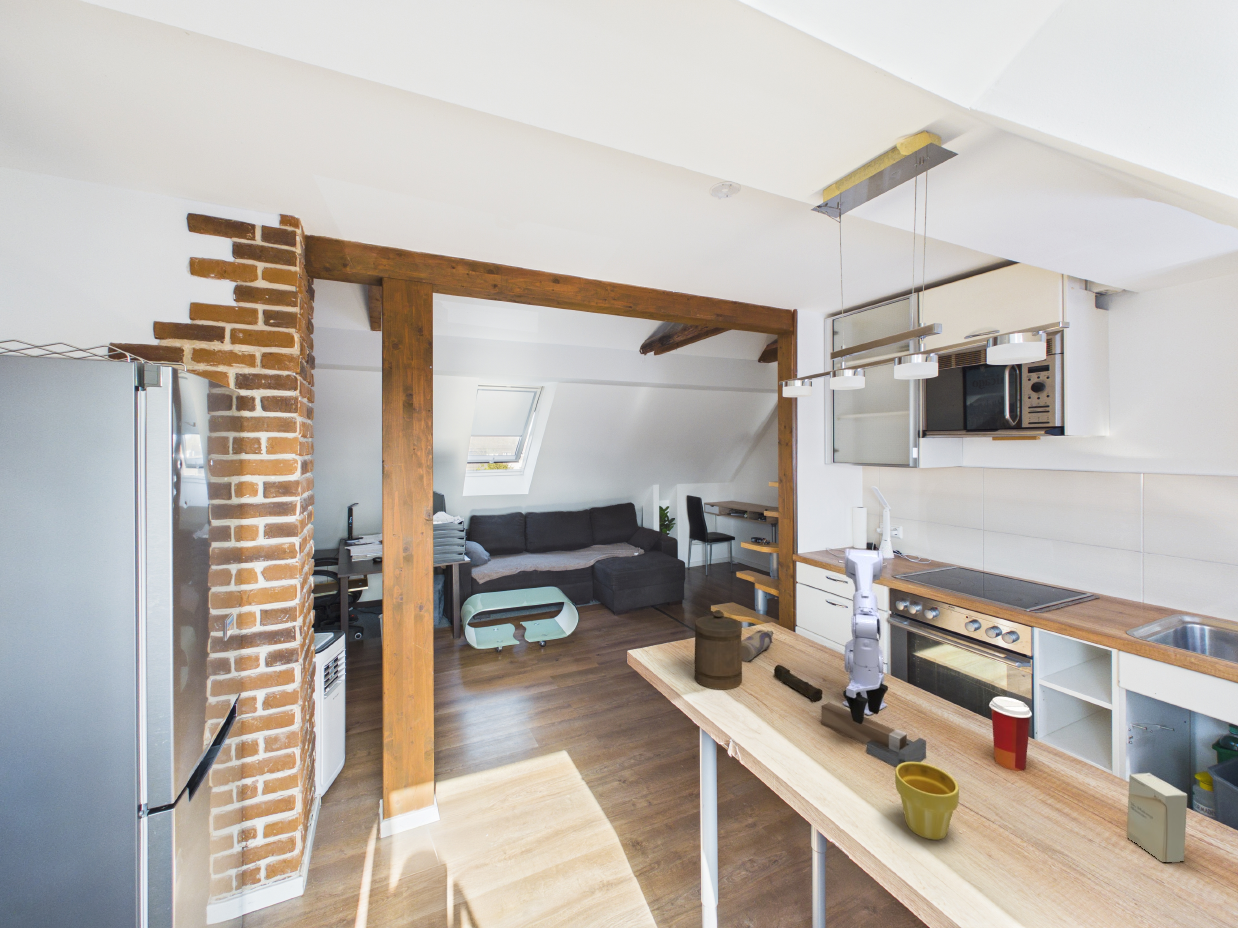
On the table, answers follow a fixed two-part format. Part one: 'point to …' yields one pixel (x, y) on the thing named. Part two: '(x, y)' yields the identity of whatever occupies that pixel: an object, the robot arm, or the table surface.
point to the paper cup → (1010, 732)
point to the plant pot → (926, 798)
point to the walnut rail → (861, 728)
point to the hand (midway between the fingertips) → (865, 717)
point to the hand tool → (797, 683)
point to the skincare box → (1157, 817)
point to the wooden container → (718, 651)
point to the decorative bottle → (756, 644)
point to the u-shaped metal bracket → (907, 754)
